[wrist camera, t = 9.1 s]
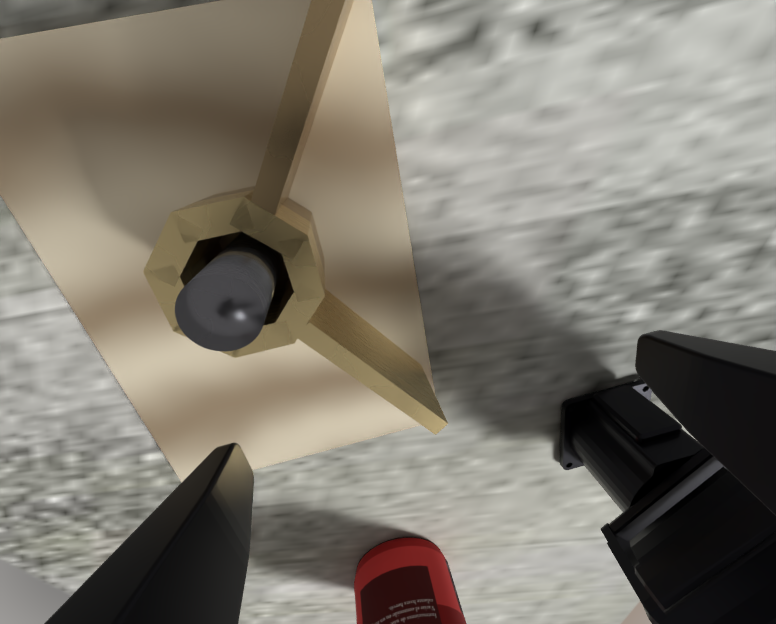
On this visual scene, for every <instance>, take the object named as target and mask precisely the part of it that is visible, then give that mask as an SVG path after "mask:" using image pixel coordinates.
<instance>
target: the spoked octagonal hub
mask: <svg viewBox="0 0 776 624" xmlns="http://www.w3.org/2000/svg"><path fill="white" fill-rule="evenodd" d="M353 2H354V0H311V3H310V6H309V9H308V13H307V16H306V19H305V23H304V26H303V29H302V33H301V36H300V39H299V43H298V46H297V49H296V53H295V56H294V59H293V62H292V66H291V69H290V72H289V76H288V79H287V82H286V86H285V89H284V92H283V96H282V99H281V102H280V106H279V109H278V112H277V116H276V119H275V122H274V126H273V129H272V132H271V136H270V139H269V142H268V146H267V149H266V152H265V156H264V159H263V162H262V165H261V169H260V172H259V175H258V179H257V182H256V185H255V186H252V187H247V188H242V189H237V190H233V191H228V192H223V193H218V194H214V195H212V196H209V197H207V198H204V199H202V200H199V201H197V202H194V203H192V204H190V205H187V206H185V207H182V208H180V209H177V210H175V211H172V212H171V213H170V215H169V217H168V219H167V221H166V223H165V226H164V228H163V230H162V232H161V234H160V236H159V238H158V241H157V243H156V245H155V247H154V249H153V251H152V253H151V256H150V258H149V260H148V262H147V264H146V266H145V268H144V271H143V273H144V275H145V277H146V279H147V281H148V283H149V285H150V287H151V289H152V291H153V293H154V295H155V297H156V299H157V301H158V302H159V304H160V306H161V308H162V310H163V312H164V314H165V316H166V318H167V320H168V322H169V324H170V326H171V328H172V330H173V332H176V333H178V334H180V335H183V336H185V337H187V336H186V335H185V334H184V333H183V332H182V330H181V329H180V327H179V325H178V323H177V320H176V317H175V303H176V299H177V296H178V294H179V293H180V291H181V290H182V289H183V287H184V286H185V285H186V284H187V283H188V282H190V281H191V280H192V279H193V278H194V277H195V276H196V275H197V274H198V273H199V272H200V271H201V270H202V269H203V268H204V267H205V266H206V265H207V264H208V263H210V262H211V261H212V260H213V259H214V258H215V257H216V256H217V255H218V254H219V253H220V252H221V251H222V248H221V245H220V243H219V241H220V239H221V237H222V235H226V234H231V233H236V232H240V231H242V232H244V233H246V234H248V235H249V236H251V237H253V238H255V239H256V240H258V241H260V242H262V243H264V244H265V245H267V246H269V247H271V248H272V249H274V250H276V251H278V252H280V253H281V254H282V256H283V259H284V262H285V265H286V268H287V271H288V275H289V277H288V279H284V280H280V281H277V284H276V287H275V290H274V293H273V296H272V299H271V303H270V306H269V309H268V312H267V315H266V318H265V321H264V324H263V328H262V330H261V332H260V334H259V335H258V336H257V338H256V339H255V340H254V341H253V342H251V343H250V344H248V345H247V346H245V347H243V348H240V349H237V350H233V351H220V352H222V353H225V354H227V355H229V356H232V357H234V358H237V357H241V356H245V355H249V354H253V353H258V352H262V351H266V350H270V349H274V348H278V347H282V346H286V345H290V344H295V342H296V340H297V339H299V340H300V341H302V342H303V343H305V344H306V345H308V346H309V347H310V348H312V349H313V350H315V351H316V352H318V353H319V354H320V355H322V356H323V357H325V358H326V359H328V360H329V361H330V362H332V363H333V364H335V365H336V366H338V367H339V368H341V369H342V370H343V371H345V372H346V373H348V374H349V375H351V376H352V377H353V378H355V379H356V380H358V381H359V382H361V383H362V384H363V385H365V386H366V387H368V388H369V389H371V390H372V391H374V392H375V393H376V394H378V395H379V396H381V397H382V398H384V399H385V400H386V401H388V402H389V403H391V404H392V405H394V406H395V407H396V408H398V409H399V410H401V411H402V412H404V413H405V414H407V415H408V416H409V417H411V418H412V419H414V420H415V421H417V422H418V423H419V424H421V425H422V426H424V427H425V428H427V429H428V430H429V431H431V432H432V433H434V434H435V435H436V434H437V433H438V432H439V431H440V430H441V429H443V428H444V427H445V426H446V425H447V424H448V422H447V420H446V418H445V416H444V414H443V411H442V409H441V407H440V405H439V403H438V400H437V398H436V396H435V394H434V392H433V389H432V387H431V385H430V383H429V381H428V379H427V376H426V374H425V372H424V370H423V368H422V365H421V364H420V363H418V362H417V361H416V360H415V359H413V358H412V357H411V356H410V355H408V354H407V353H406V352H404V351H403V350H402V349H401V348H399V347H398V346H397V345H396V344H394V343H393V342H392V341H391V340H389V339H388V338H387V337H386V336H384V335H383V334H382V333H381V332H379V331H378V330H377V329H376V328H374V327H373V326H372V325H371V324H369V323H368V322H367V321H365V320H364V319H363V318H362V317H360V316H359V315H358V314H357V313H355V312H354V311H353V310H352V309H350V308H349V307H348V306H347V305H345V304H344V303H343V302H342V301H340V300H339V299H338V298H337V297H335V296H334V295H333V294H332V293H330V292H329V291H328V290H326V289H325V260H324V255H323V251H322V247H321V244H320V240H319V236H318V233H317V229H316V225H315V222H314V218H313V214H312V212H311V211H309V210H308V209H306V208H305V207H303V206H302V205H300V204H298V203H297V202H295V201H294V200H292V199H290V198H289V197H288V196H289V194H290V191H291V188H292V185H293V182H294V179H295V176H296V173H297V170H298V167H299V164H300V161H301V158H302V155H303V152H304V149H305V146H306V143H307V140H308V137H309V134H310V131H311V128H312V125H313V122H314V119H315V116H316V113H317V110H318V107H319V104H320V101H321V98H322V95H323V92H324V89H325V86H326V83H327V80H328V77H329V74H330V71H331V68H332V65H333V62H334V59H335V56H336V53H337V50H338V47H339V44H340V41H341V38H342V35H343V32H344V29H345V26H346V23H347V20H348V17H349V14H350V11H351V8H352V5H353ZM187 338H188V337H187Z"/></svg>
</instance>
